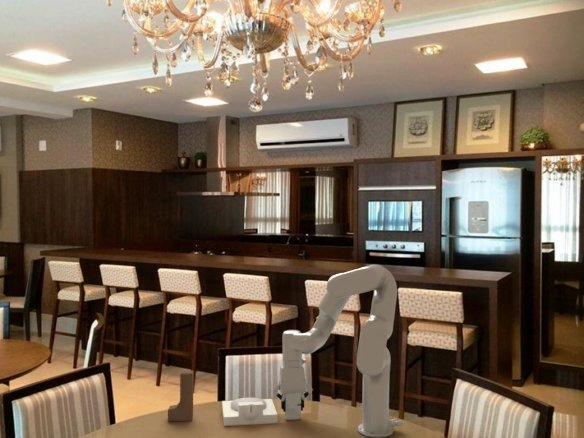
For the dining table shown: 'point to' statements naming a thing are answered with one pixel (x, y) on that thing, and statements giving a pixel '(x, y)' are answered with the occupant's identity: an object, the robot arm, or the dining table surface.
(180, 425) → the dining table surface
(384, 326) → the robot arm
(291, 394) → the skincare box
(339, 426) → the dining table surface
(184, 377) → the wooden block
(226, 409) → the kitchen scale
